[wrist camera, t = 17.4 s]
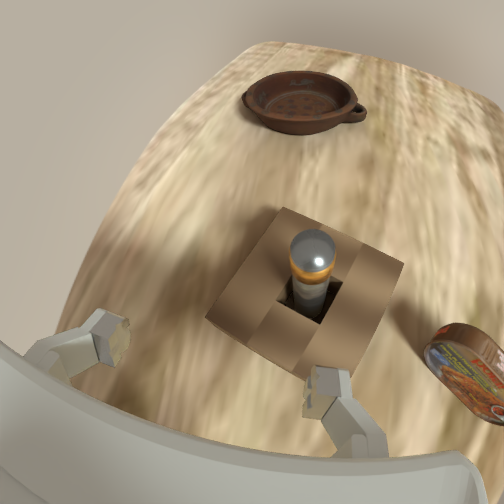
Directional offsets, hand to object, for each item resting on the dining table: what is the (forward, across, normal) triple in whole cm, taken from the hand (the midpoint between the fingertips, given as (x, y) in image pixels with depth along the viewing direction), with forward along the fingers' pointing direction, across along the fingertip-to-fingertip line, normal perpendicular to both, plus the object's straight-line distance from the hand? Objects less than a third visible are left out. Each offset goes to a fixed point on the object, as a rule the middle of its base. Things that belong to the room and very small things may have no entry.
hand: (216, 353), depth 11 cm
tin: (+8, +25, -9) cm, 28 cm away
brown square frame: (+16, +6, -8) cm, 19 cm away
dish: (+43, +2, +11) cm, 45 cm away
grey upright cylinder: (+16, +6, -8) cm, 19 cm away
